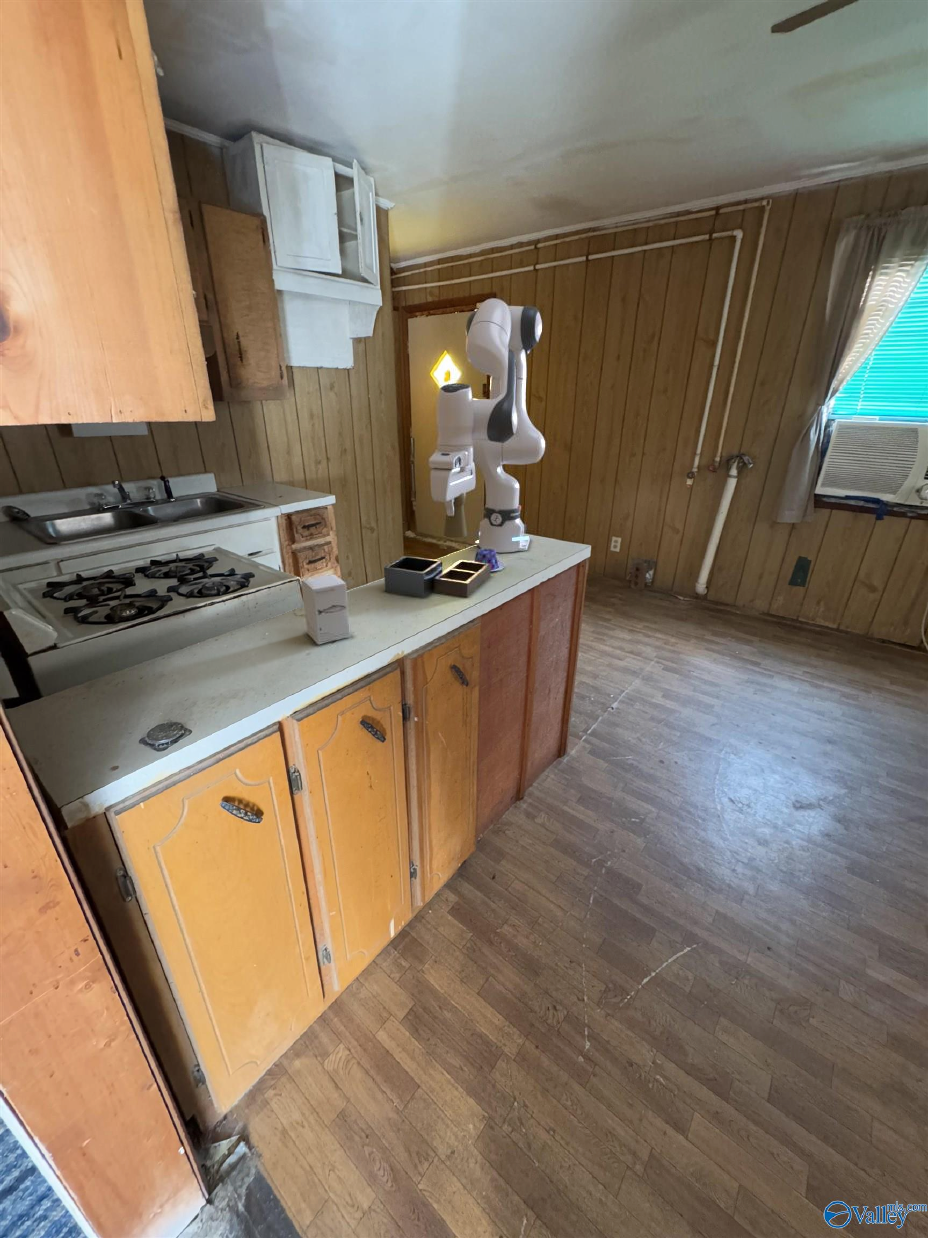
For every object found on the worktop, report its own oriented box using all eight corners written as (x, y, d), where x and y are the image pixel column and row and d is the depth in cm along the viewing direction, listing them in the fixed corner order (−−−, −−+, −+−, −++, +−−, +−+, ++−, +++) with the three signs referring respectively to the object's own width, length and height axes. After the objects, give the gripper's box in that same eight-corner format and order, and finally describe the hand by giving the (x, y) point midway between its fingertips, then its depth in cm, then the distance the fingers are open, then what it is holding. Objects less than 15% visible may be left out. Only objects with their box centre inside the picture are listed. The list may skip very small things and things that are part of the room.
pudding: (458, 566, 155) (458, 550, 153) (486, 559, 162) (486, 543, 160) (485, 576, 147) (486, 559, 144) (513, 567, 154) (514, 551, 152)
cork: (467, 531, 133) (468, 489, 129) (465, 538, 128) (466, 494, 123) (445, 531, 134) (444, 489, 129) (442, 537, 128) (441, 493, 124)
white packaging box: (318, 645, 105) (311, 589, 100) (306, 633, 110) (299, 578, 105) (351, 637, 109) (346, 582, 103) (339, 625, 114) (333, 572, 109)
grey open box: (405, 578, 144) (405, 555, 141) (442, 584, 140) (442, 560, 137) (385, 591, 134) (383, 567, 132) (424, 598, 130) (423, 573, 128)
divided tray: (460, 572, 149) (460, 559, 148) (490, 576, 146) (490, 563, 144) (434, 592, 134) (433, 578, 133) (467, 597, 131) (467, 583, 129)
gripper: (459, 451, 132) (459, 504, 138) (425, 460, 115) (426, 520, 121) (481, 452, 130) (480, 506, 136) (450, 462, 113) (450, 523, 119)
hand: (455, 513), depth 128 cm, fingers closed on cork, 4 cm apart
